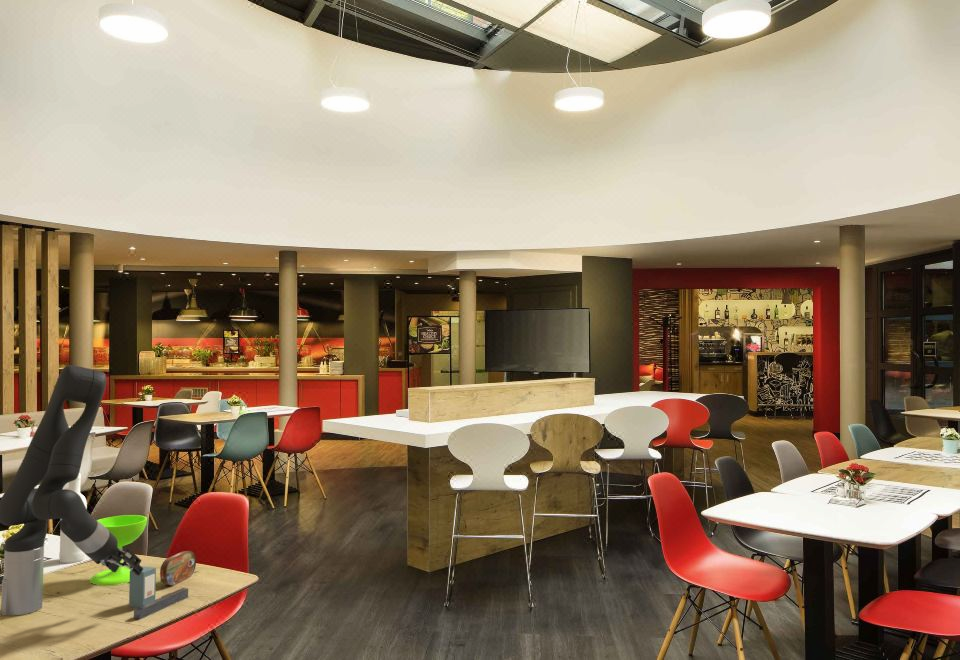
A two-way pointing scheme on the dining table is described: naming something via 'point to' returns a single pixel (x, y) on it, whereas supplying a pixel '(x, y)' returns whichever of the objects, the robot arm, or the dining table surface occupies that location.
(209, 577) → the dining table surface
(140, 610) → the price rail
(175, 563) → the tin
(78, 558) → the bottle
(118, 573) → the wineglass
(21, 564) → the robot arm
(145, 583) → the carton
